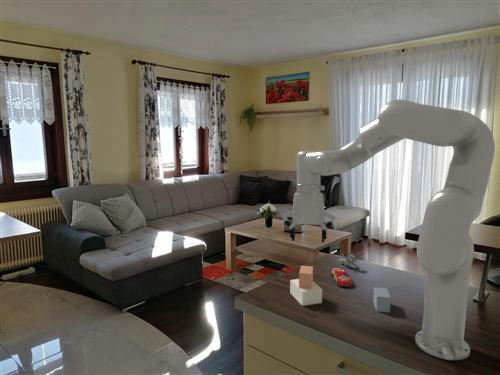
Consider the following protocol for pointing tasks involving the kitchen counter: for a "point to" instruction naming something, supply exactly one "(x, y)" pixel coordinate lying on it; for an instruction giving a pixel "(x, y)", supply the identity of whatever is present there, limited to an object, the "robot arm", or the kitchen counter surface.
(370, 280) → the kitchen counter surface
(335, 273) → the race car
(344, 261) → the elephant figurine
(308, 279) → the terracotta brick
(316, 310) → the kitchen counter surface
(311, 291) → the cream brick
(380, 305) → the slate brick
